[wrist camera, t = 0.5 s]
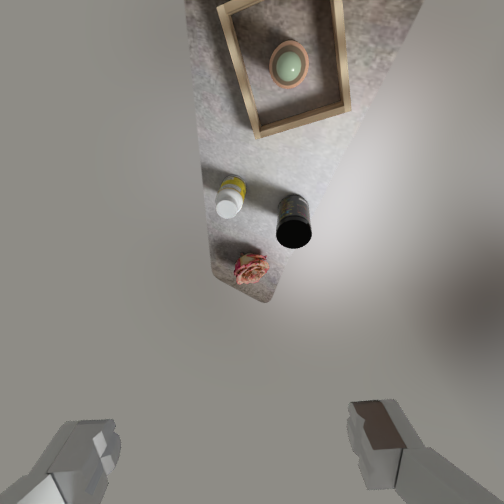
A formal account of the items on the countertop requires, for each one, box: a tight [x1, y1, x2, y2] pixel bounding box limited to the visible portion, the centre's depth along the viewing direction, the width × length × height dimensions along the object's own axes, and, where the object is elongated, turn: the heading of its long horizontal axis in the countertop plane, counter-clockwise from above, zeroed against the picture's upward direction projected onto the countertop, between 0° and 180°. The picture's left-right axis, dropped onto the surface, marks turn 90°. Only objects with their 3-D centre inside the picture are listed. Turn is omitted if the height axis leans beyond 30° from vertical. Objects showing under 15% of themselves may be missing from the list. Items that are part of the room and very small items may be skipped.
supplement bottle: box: [215, 176, 246, 219], centre depth 53 cm, size 5×5×10 cm
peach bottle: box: [269, 40, 309, 89], centre depth 38 cm, size 5×5×12 cm
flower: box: [234, 253, 269, 285], centre depth 67 cm, size 10×9×8 cm
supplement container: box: [276, 195, 312, 249], centre depth 55 cm, size 7×7×10 cm
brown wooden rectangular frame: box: [216, 0, 351, 139], centre depth 41 cm, size 18×16×4 cm
